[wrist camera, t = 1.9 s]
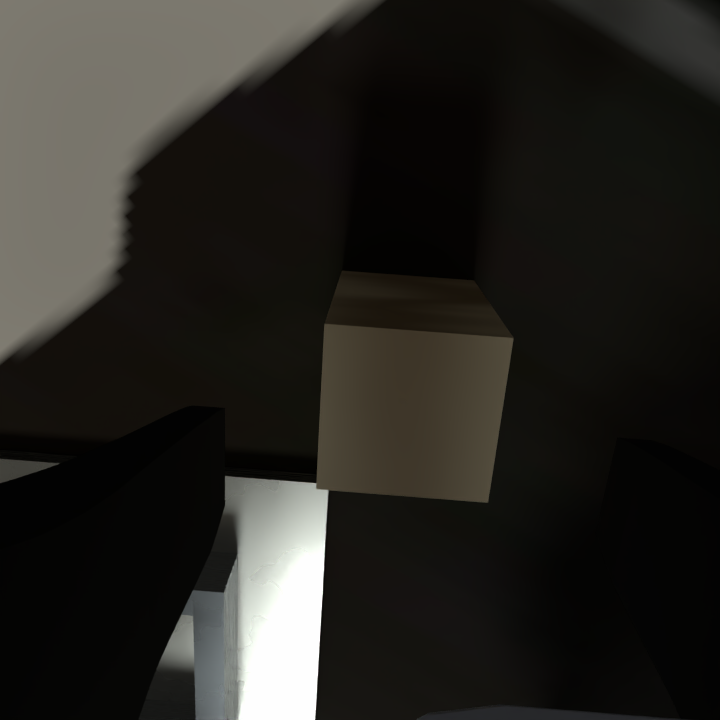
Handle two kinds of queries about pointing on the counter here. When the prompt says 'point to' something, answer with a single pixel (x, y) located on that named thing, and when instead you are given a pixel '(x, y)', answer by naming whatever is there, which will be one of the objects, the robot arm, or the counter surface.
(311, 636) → the socket plate
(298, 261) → the counter surface
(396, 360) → the beige rectangular block
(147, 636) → the robot arm
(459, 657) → the counter surface
